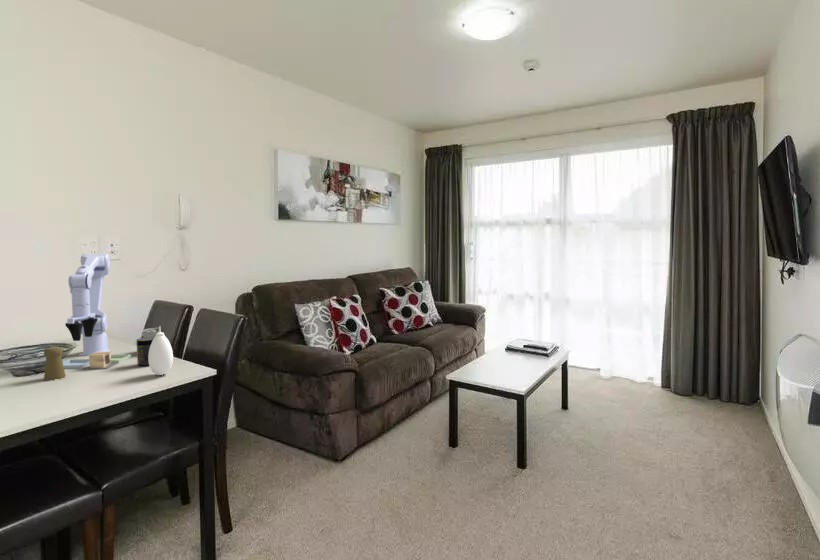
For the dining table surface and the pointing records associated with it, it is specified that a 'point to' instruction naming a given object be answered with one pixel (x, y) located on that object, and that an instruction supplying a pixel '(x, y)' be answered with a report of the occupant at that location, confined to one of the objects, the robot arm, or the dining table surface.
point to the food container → (150, 332)
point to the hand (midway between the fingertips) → (82, 338)
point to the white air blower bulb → (160, 354)
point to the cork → (54, 363)
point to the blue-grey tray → (75, 363)
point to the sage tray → (119, 358)
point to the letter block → (100, 359)
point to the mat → (101, 368)
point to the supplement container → (143, 351)
